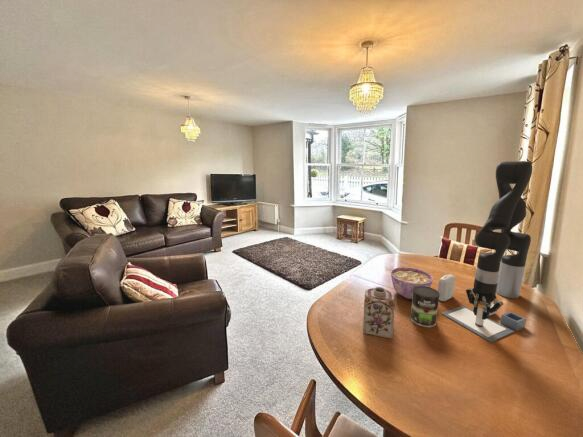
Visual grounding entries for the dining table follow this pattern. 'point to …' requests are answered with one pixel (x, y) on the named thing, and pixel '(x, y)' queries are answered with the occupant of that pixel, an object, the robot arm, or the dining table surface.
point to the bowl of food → (409, 280)
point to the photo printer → (446, 287)
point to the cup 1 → (493, 312)
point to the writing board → (488, 331)
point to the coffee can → (424, 306)
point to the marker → (479, 315)
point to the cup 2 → (513, 321)
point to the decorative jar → (379, 312)
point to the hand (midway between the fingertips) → (480, 316)
